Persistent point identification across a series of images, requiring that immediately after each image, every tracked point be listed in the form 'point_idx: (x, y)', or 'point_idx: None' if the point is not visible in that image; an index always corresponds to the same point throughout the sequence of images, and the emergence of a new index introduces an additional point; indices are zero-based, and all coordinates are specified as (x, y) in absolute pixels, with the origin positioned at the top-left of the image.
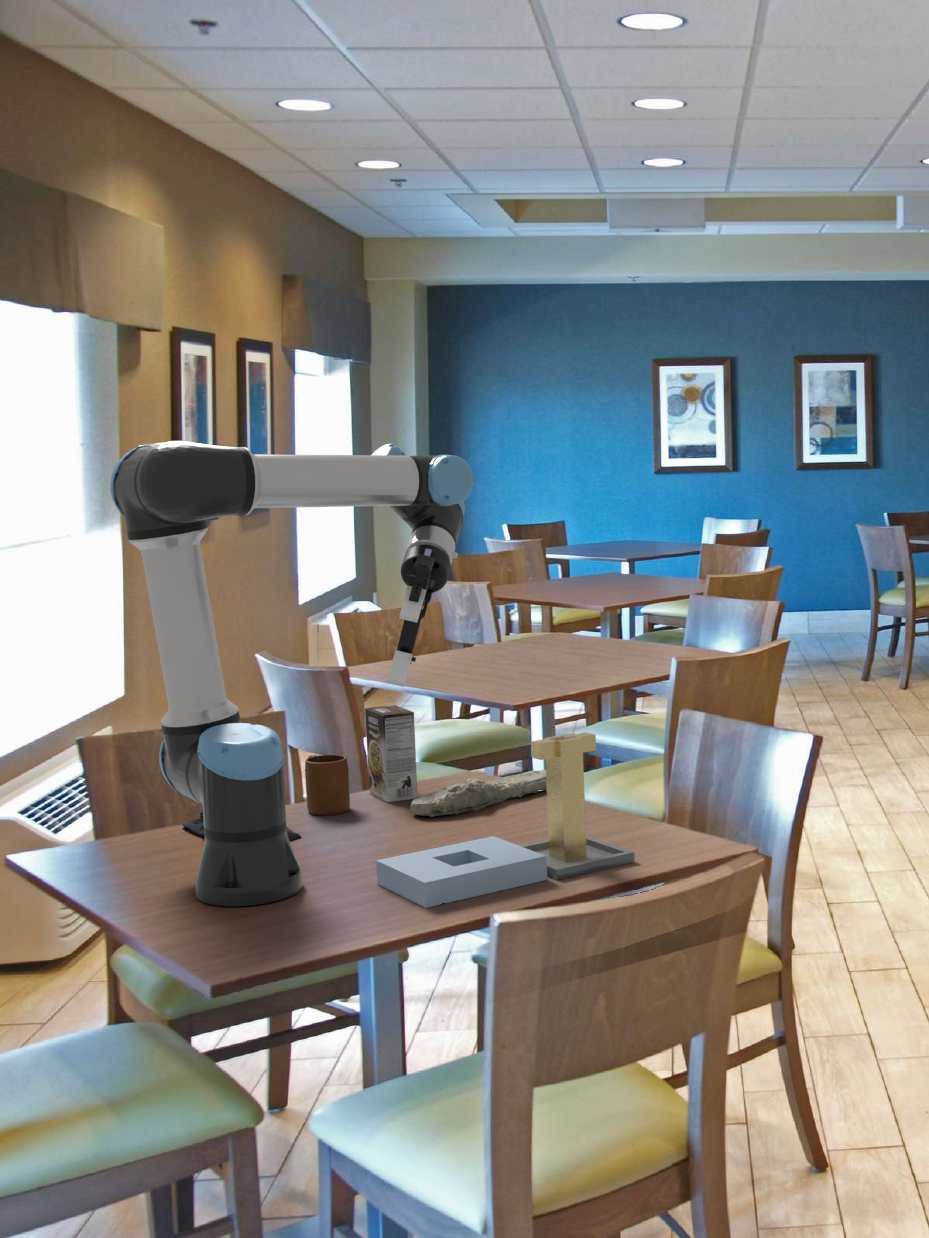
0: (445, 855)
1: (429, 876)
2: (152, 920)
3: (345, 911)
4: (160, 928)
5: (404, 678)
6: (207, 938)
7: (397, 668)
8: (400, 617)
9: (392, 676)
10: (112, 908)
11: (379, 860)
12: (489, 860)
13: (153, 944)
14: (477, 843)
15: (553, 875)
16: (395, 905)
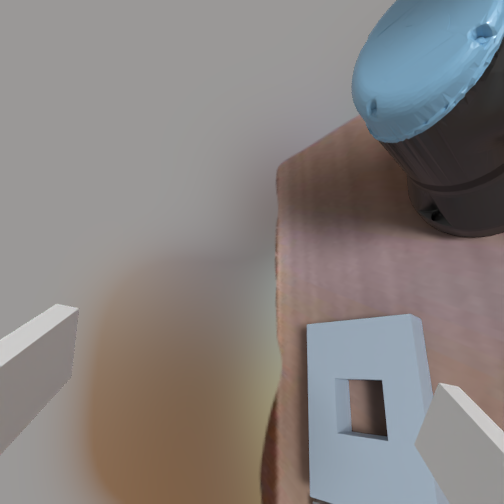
0: (385, 401)
1: (320, 338)
2: None
3: (351, 261)
4: None
5: (430, 463)
6: (351, 152)
7: (482, 476)
8: (72, 312)
9: (447, 416)
10: None
11: (407, 317)
12: (331, 427)
13: None
14: (413, 479)
15: (323, 501)
16: (341, 307)
